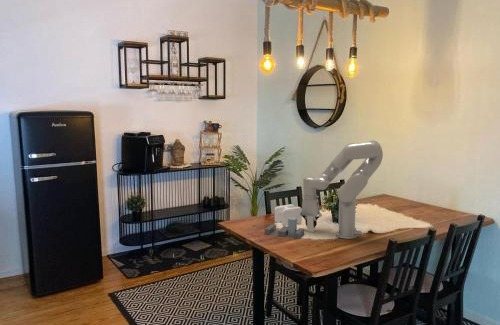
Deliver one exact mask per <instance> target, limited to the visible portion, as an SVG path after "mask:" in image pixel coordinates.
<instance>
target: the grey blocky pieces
mask: <svg viewBox="0 0 500 325" xmlns="http://www.w3.org/2000/svg"><path fill="white" fill-rule="evenodd" d="M276 228H277V224H270V225H268V226H267V227H265V229H264V233H263V235H270V236H275V237H283V238H288V239H289V238H291V239H295V240H296V239H297V240H301V239H302V238H303V237H304V236H305V235H306V233H305V228H304V227H303V228H300V227H299V228H297V231H296V232H295V233H294V236H289V235H288V225H286V226H284V225H282V227H281V228H280V229H276Z"/></svg>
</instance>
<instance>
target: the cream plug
mask: <svg viewBox="0 0 500 325" xmlns="http://www.w3.org/2000/svg"><path fill="white" fill-rule="evenodd" d="M313 221H314V218H313V216H307V227H306V232H309V233H314V232H315V231H316V226H315V227H314V224H313Z"/></svg>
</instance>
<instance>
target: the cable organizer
mask: <svg viewBox="0 0 500 325" xmlns="http://www.w3.org/2000/svg"><path fill="white" fill-rule="evenodd" d="M301 211H302V207H301V206H295V205H294V204H293V203H292V204H291V203H290V204H285V205H277V206H275V207H274V222H275V223H277V224H278V223H281V224H282V226H288V219H289V218H290V217H292V218H297V225H300V224H302V221H303V217H302V216H301V215H300V213H301Z"/></svg>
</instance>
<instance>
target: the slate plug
mask: <svg viewBox="0 0 500 325" xmlns="http://www.w3.org/2000/svg"><path fill="white" fill-rule="evenodd" d="M287 226H288V235H289V236H294V233H295V232H296V231H297V230H298V228H297V227H298V224H297V218H292V217H290V218H289V219H288V225H287Z"/></svg>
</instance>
